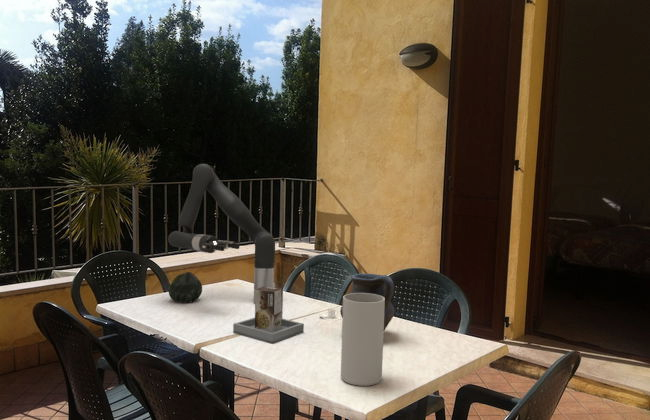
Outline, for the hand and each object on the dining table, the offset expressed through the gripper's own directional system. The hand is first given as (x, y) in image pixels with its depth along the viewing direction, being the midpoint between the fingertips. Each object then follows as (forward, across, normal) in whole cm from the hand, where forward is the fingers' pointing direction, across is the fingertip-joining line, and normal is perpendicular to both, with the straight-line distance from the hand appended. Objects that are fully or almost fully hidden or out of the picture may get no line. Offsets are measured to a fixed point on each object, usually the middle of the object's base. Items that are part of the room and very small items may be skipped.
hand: (231, 247), depth 221 cm
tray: (+25, -4, +30) cm, 39 cm away
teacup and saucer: (+28, +30, +31) cm, 52 cm away
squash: (-37, +7, +30) cm, 48 cm away
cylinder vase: (+77, -20, +30) cm, 85 cm away
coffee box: (+25, -4, +29) cm, 39 cm away
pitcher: (+57, +17, +30) cm, 67 cm away
